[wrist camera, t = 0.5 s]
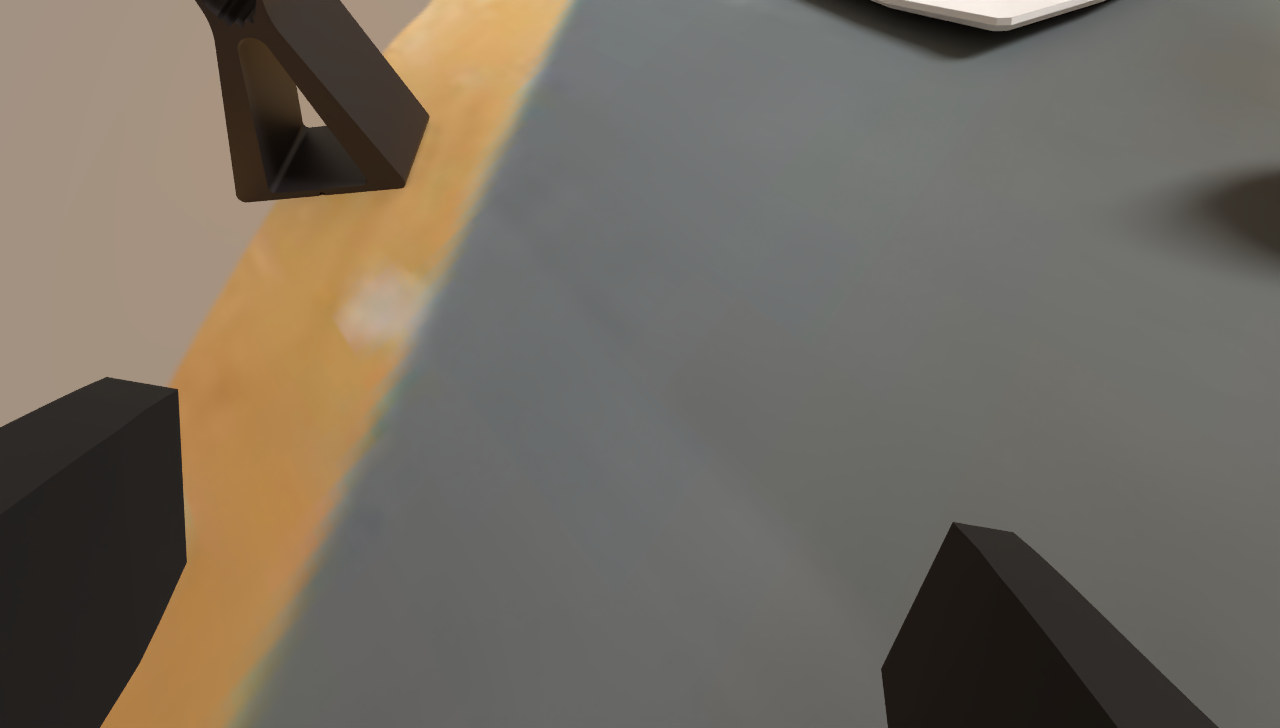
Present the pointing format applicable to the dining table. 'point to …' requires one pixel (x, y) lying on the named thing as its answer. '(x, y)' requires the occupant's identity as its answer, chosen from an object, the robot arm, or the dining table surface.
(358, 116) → the phone stand
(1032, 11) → the plate
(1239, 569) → the dining table surface
